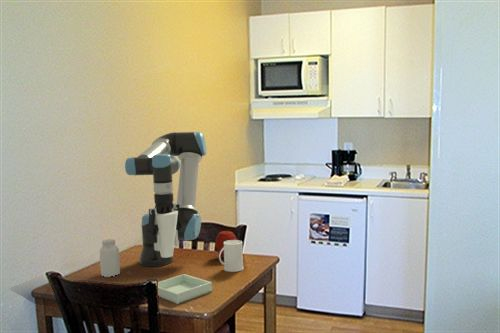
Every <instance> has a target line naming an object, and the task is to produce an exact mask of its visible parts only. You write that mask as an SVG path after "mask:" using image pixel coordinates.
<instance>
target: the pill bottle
mask: <svg viewBox="0 0 500 333" xmlns="http://www.w3.org/2000/svg"><path fill="white" fill-rule="evenodd" d="M101 242H102V243H101V244H102V246H101V247H100V249H99V265H100V274H101V276H102V277H103V276H104V278H112V277H111V276H113V277H116V276H115V275H117V276H119V275H120V274H121V267H120V266H121V264H120V250H119V249H120V248H119V247H118V246H117V245H116V239H113V238H111V239H110V238H109V239H104V240H102V241H101ZM118 274H119V275H118Z"/></svg>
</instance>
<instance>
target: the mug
mask: <svg viewBox="0 0 500 333" xmlns="http://www.w3.org/2000/svg"><path fill="white" fill-rule="evenodd" d="M223 250H224V258H223V260H222V257H221V253H222V251H223ZM243 253H244V252H243V241H242V240H239V239H237V240H228V241H225V242H224V247H223V248H222V249H221V251H220V253H219V254H218V260H219V262H220V263H221V265H224V266H223V267H224V268H223V271H224V272H229V273H235V272H236V273H237V272H241V271H243V270H244V268H245V267H244V260H243V259H244V258H243V256H244V255H243Z"/></svg>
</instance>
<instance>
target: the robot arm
mask: <svg viewBox="0 0 500 333" xmlns="http://www.w3.org/2000/svg"><path fill="white" fill-rule="evenodd" d="M206 154H207V142H206V138H205V136H204V134H203V133H202V132H200V131H187V132H186V131H184V132H182V131H181V132H178V131H177V132H175V131H174V132H169V133H166V134H164V135H161V136H159V137H157V138H156V139H154V141H152V143H151V145H150V146H149V147H148V148H146V150H144V151H142V152H141V153H140V154H139V155H138V156H137V157H134V156H132V157H128V158H127V159H126V160H125V163H124V168H125V169H124V170H125V173H126V174H127V175H128V176H135V177H136V176H152V177H153V178H152V179H153V192H154V194H153V198H154V199H153V200H154V203H155V205H154V208H148V213H145V214H143V215H142V217H141V225H140V226H141V235H142V247H141V248H142V249H141V252H140V257H139V264H140V265H142V266H144V267H160V266H167V265H169V264H171V263H172V262H174V258H173V257H174V255H173V256H172V257H168V258H163V257H161V254H160V242H159V235H158V234H157V233H158V230H159V228H158V225H155V213H156V212H157V213H158V214H164V213H168V212H172V210H176V211H178V216H177V225H176V233H175V241H174V247H178V246H179V241H191V240H195V239H197V238H198V237H199V234H200V231H201V226H202V216H201V214H199V212H198V210H197V208H196V199H197V198H196V197H197V188H198V187H197V186H198V173H199V163H200V162H201V161H202V160H203V157H205V156H206ZM178 171H179V176H178V187H177V199H176V203H174V193H173V191H174V186H173V175H175V174H176V173H177V172H178Z"/></svg>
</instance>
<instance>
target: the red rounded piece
mask: <svg viewBox="0 0 500 333" xmlns="http://www.w3.org/2000/svg"><path fill="white" fill-rule="evenodd" d="M228 240H238V239H237V237H236V235H235V234H234V232H233V231H229V230H226V229H225V228H224V230H222V231H220V232H218V234H217V235H216V238H215V249H216V252H217V253H218V255H219V253H220V251H221V249H222V248H223V247H224V242H225V241H228ZM220 258H221V259H224V250H223V251H222V253H221V256H220Z"/></svg>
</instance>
